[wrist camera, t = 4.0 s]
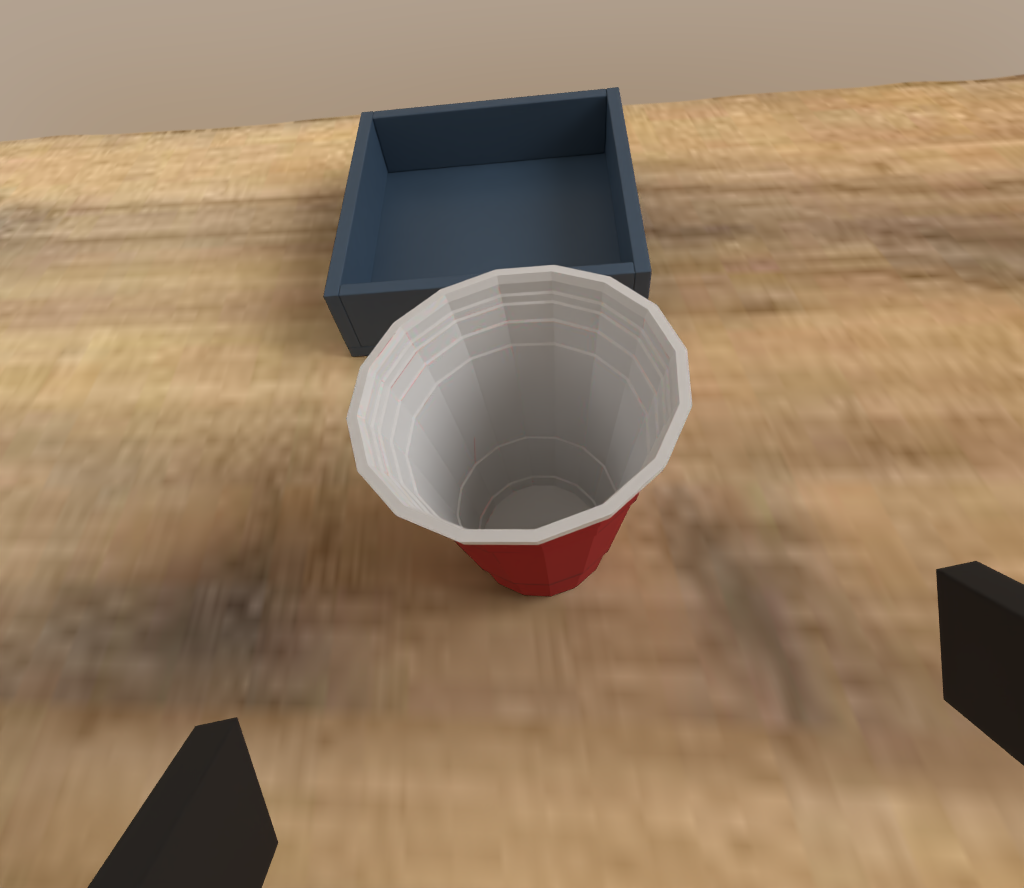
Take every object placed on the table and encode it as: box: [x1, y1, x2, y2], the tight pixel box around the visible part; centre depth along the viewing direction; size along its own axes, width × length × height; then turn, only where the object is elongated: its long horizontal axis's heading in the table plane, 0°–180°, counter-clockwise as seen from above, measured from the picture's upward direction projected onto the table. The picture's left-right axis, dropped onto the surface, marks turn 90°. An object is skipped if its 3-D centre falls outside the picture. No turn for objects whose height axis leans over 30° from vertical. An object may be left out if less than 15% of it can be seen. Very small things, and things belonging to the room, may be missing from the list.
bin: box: [323, 87, 651, 356], centre depth 39 cm, size 17×17×5 cm
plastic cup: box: [346, 265, 692, 596], centre depth 25 cm, size 11×11×12 cm
